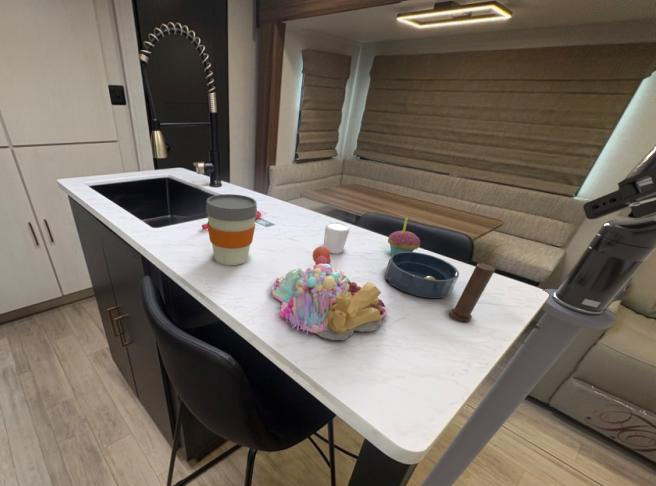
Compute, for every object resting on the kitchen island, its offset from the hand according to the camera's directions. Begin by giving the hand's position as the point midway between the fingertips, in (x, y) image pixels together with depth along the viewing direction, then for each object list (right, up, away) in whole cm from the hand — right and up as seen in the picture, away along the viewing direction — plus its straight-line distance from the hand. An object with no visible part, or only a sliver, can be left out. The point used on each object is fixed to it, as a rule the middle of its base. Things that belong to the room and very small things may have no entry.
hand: (610, 211), depth 40 cm
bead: (-5, -7, +33) cm, 34 cm away
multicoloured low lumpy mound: (-31, -12, +26) cm, 43 cm away
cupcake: (-4, +1, +50) cm, 50 cm away
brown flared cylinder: (-3, -15, +25) cm, 29 cm away
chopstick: (-52, +17, +60) cm, 81 cm away
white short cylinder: (-23, +3, +51) cm, 56 cm away
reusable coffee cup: (-53, 0, +43) cm, 68 cm away
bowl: (-6, -7, +37) cm, 38 cm away
